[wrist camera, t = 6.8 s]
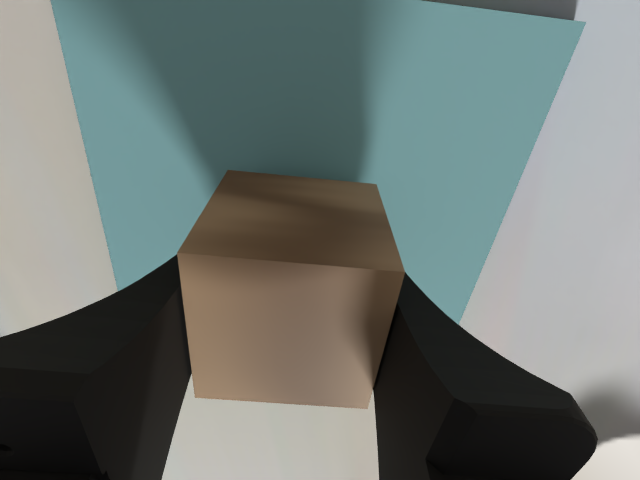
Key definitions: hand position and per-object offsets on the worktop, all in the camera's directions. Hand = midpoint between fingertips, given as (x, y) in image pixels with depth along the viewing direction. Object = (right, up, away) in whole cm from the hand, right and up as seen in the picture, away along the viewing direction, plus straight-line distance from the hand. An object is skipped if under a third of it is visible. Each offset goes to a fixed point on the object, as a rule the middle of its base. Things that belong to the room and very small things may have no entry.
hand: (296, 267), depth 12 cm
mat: (0, +2, +3) cm, 3 cm away
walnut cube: (0, +1, +1) cm, 2 cm away
